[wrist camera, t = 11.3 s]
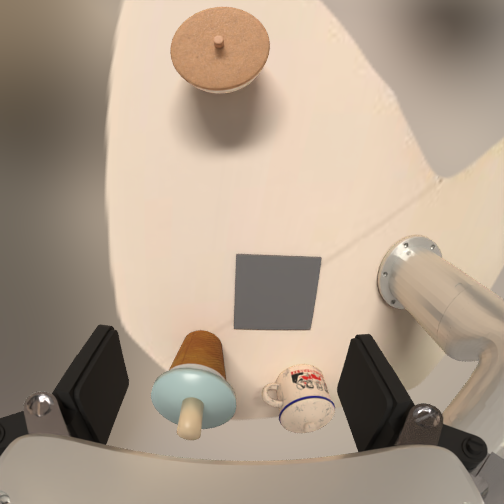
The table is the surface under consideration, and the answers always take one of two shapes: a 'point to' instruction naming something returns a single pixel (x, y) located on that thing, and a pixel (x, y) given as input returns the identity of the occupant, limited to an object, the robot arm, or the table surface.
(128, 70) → the table surface
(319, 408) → the teacup with lid
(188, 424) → the cover
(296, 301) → the mat
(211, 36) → the lidded jar
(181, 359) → the disposable coffee cup
